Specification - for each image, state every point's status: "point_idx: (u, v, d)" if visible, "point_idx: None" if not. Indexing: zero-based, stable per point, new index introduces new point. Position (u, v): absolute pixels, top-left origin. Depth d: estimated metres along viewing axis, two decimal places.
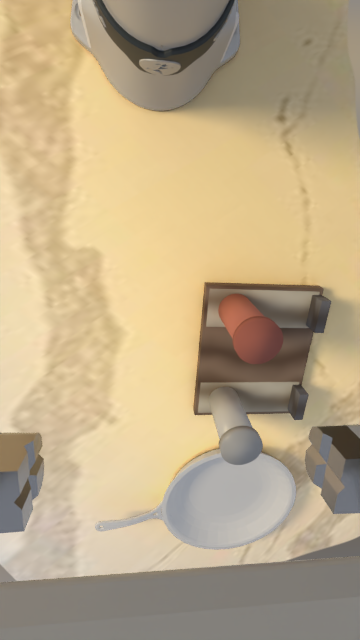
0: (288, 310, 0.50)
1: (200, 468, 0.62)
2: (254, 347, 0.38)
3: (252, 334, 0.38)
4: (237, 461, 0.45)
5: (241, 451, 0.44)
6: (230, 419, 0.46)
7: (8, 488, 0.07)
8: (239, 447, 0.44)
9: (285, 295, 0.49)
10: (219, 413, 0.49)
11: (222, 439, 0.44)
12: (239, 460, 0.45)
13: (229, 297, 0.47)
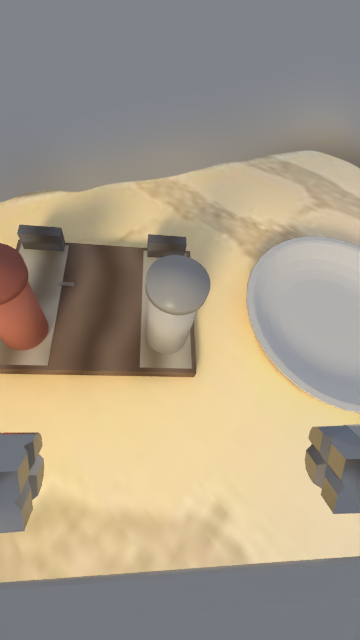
0: (40, 271, 0.41)
1: (298, 360, 0.42)
2: None
3: None
4: (203, 285, 0.29)
5: (183, 280, 0.29)
6: (150, 307, 0.31)
7: (8, 488, 0.07)
8: (174, 284, 0.29)
9: None
10: (156, 328, 0.33)
11: (165, 310, 0.28)
12: (201, 282, 0.29)
13: None
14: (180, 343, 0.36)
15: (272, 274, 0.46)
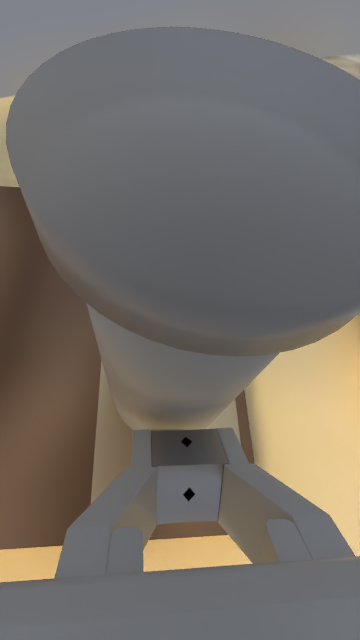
0: None
1: None
2: None
3: None
4: None
5: (267, 127, 0.04)
6: (88, 306, 0.07)
7: (180, 481, 0.08)
8: (213, 142, 0.04)
9: None
10: (129, 391, 0.08)
11: (153, 324, 0.04)
12: None
13: None
14: (214, 419, 0.11)
15: None
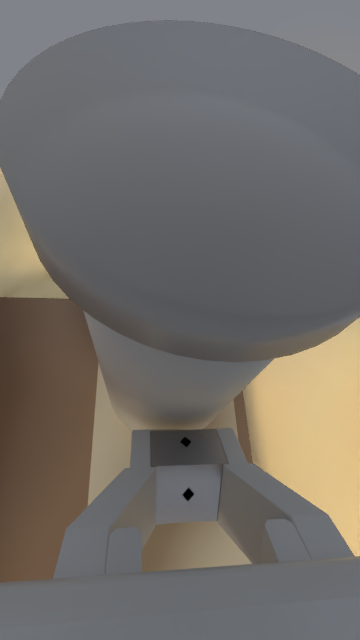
0: None
1: None
2: None
3: None
4: None
5: (265, 125, 0.04)
6: None
7: (179, 481, 0.08)
8: (210, 140, 0.04)
9: None
10: (126, 392, 0.08)
11: (148, 330, 0.04)
12: None
13: None
14: (212, 419, 0.11)
15: None
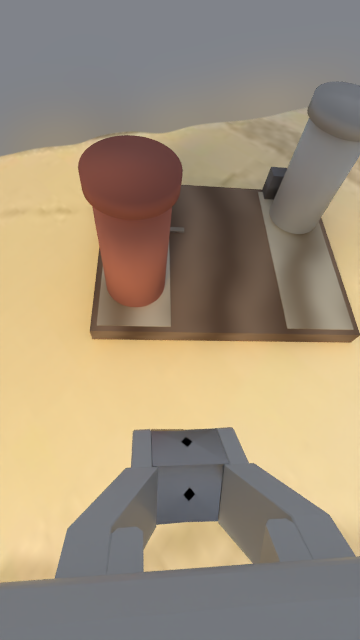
0: None
1: None
2: (142, 173, 0.18)
3: (111, 177, 0.18)
4: None
5: (358, 102, 0.24)
6: (307, 149, 0.26)
7: (180, 481, 0.08)
8: (349, 105, 0.24)
9: None
10: (306, 184, 0.28)
11: (343, 132, 0.23)
12: None
13: (108, 288, 0.26)
14: (320, 215, 0.31)
15: None
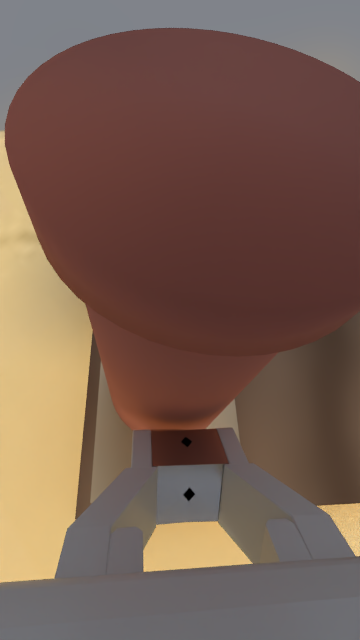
0: None
1: None
2: (284, 152, 0.04)
3: (157, 168, 0.04)
4: None
5: None
6: None
7: (180, 481, 0.08)
8: None
9: None
10: None
11: None
12: None
13: (115, 407, 0.13)
14: None
15: None
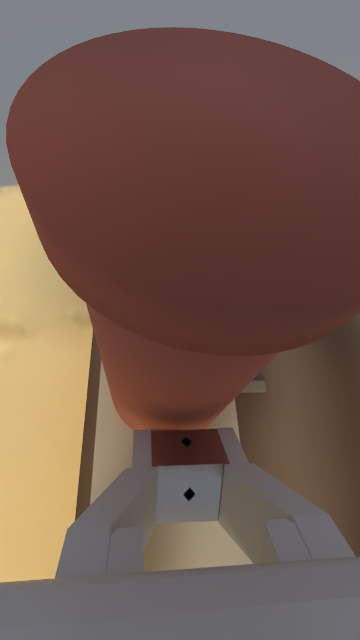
0: None
1: None
2: (285, 152, 0.04)
3: (158, 167, 0.04)
4: None
5: None
6: None
7: (180, 481, 0.08)
8: None
9: None
10: None
11: None
12: None
13: (115, 406, 0.13)
14: None
15: None
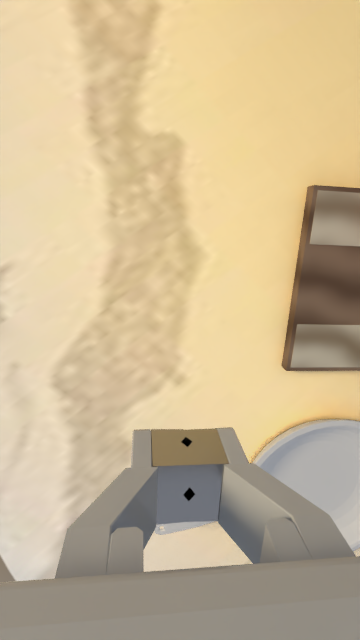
0: None
1: (284, 450, 0.49)
2: None
3: None
4: None
5: None
6: None
7: (180, 481, 0.08)
8: None
9: None
10: None
11: None
12: None
13: None
14: None
15: None
